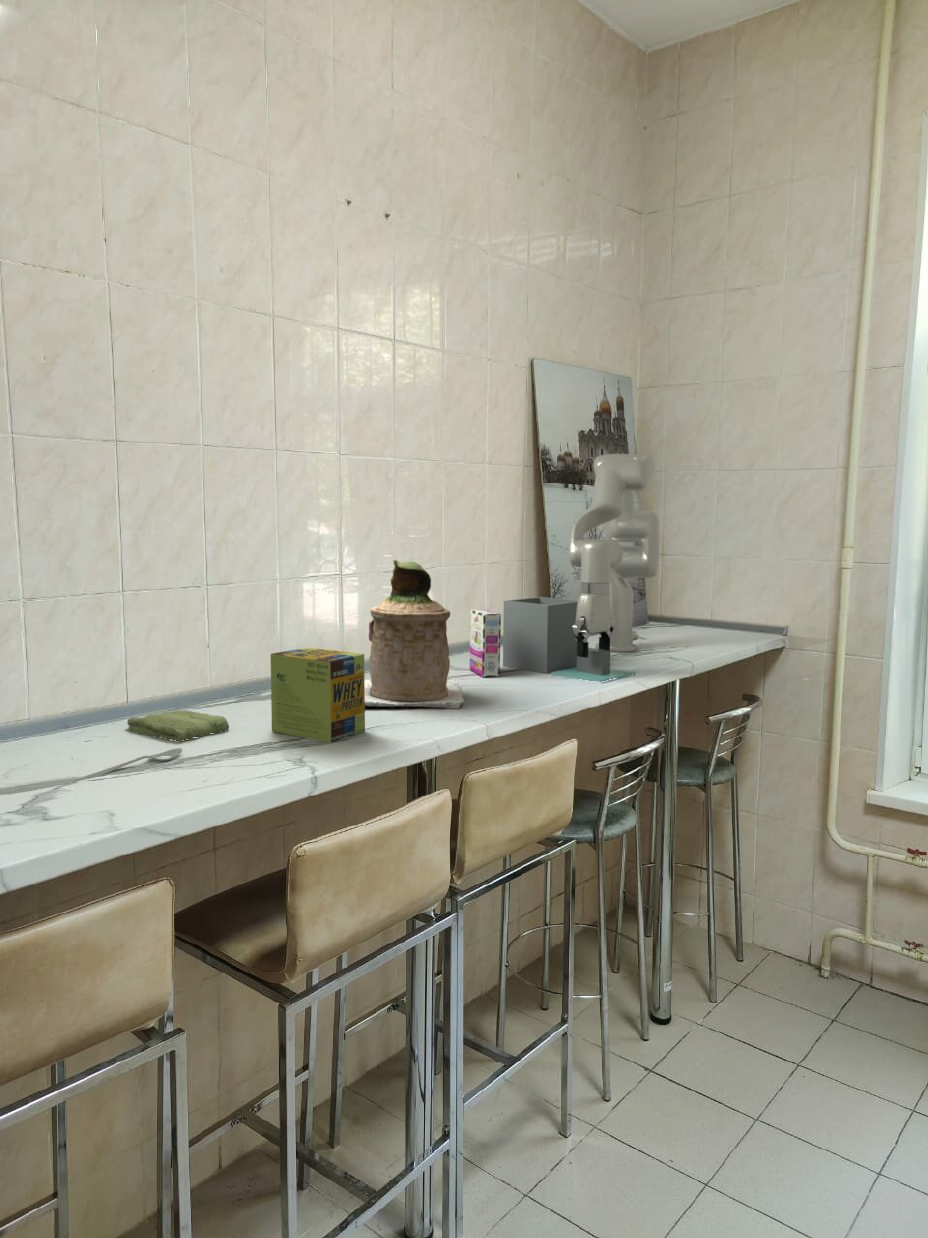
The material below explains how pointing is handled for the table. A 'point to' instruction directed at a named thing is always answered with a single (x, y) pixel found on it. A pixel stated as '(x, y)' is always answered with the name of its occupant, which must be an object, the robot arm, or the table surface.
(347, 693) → the protein box
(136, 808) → the table surface
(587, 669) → the lid
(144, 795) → the table surface
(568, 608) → the bin
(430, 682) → the cookie jar
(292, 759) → the table surface
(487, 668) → the candy bar box
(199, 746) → the table surface
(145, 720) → the washcloth
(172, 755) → the spoon
